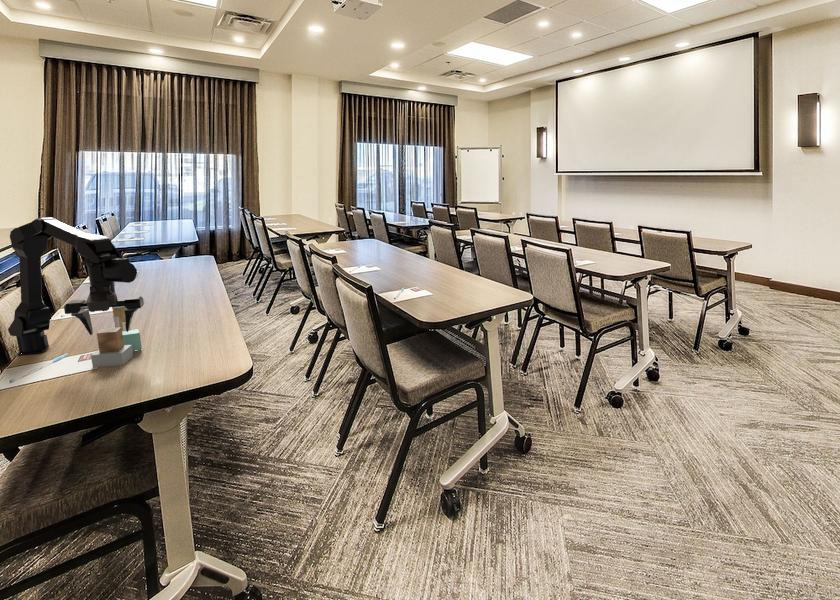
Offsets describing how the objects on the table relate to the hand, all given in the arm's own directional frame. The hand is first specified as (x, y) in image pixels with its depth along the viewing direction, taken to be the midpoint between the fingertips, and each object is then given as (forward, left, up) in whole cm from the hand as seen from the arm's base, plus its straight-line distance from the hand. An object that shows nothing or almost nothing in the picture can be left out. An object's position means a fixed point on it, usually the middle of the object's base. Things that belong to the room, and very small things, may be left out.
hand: (109, 332), depth 139 cm
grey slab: (0, 0, -9) cm, 9 cm away
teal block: (+3, +10, -9) cm, 14 cm away
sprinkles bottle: (-2, +24, -9) cm, 26 cm away
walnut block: (0, 0, -5) cm, 5 cm away
